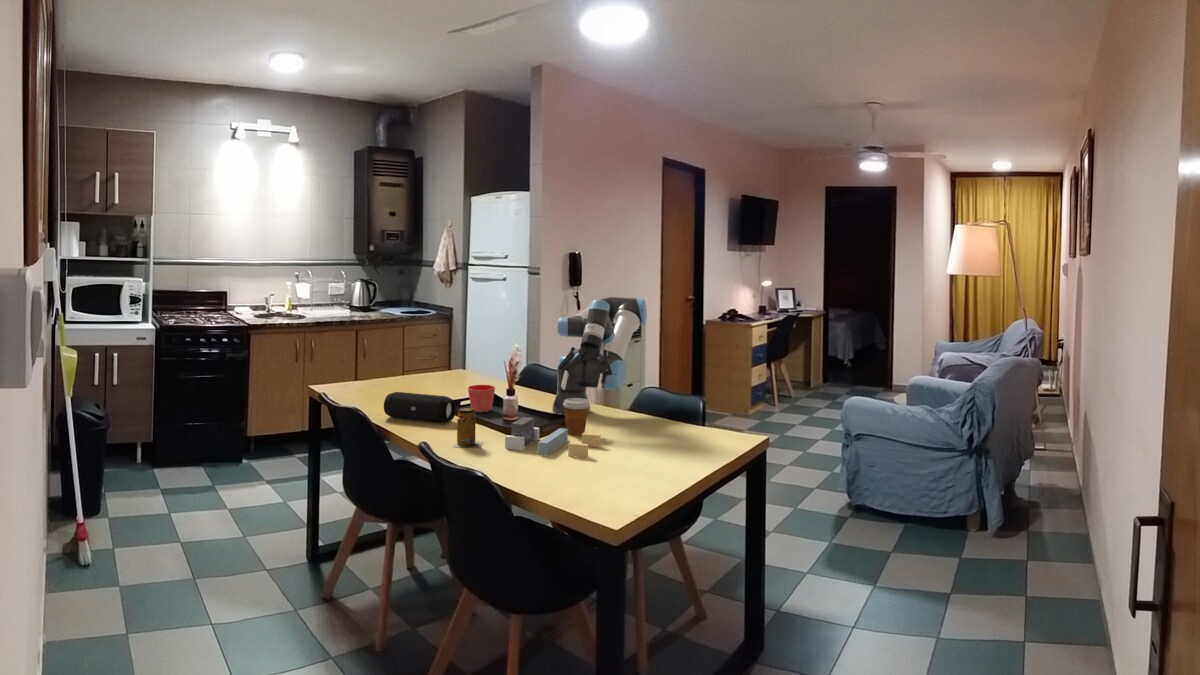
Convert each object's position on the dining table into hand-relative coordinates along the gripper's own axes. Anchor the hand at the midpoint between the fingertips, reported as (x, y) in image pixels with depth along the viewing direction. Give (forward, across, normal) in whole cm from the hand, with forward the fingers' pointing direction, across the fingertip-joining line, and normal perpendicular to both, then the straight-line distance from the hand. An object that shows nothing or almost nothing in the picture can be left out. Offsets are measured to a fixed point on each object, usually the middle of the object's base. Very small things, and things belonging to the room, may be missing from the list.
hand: (580, 389), depth 270 cm
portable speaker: (+17, -60, +3) cm, 63 cm away
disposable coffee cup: (+14, 0, +7) cm, 16 cm away
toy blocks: (+26, -1, -10) cm, 28 cm away
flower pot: (+4, -46, +21) cm, 51 cm away
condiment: (+31, -28, -16) cm, 45 cm away
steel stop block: (+26, -12, -10) cm, 30 cm away
